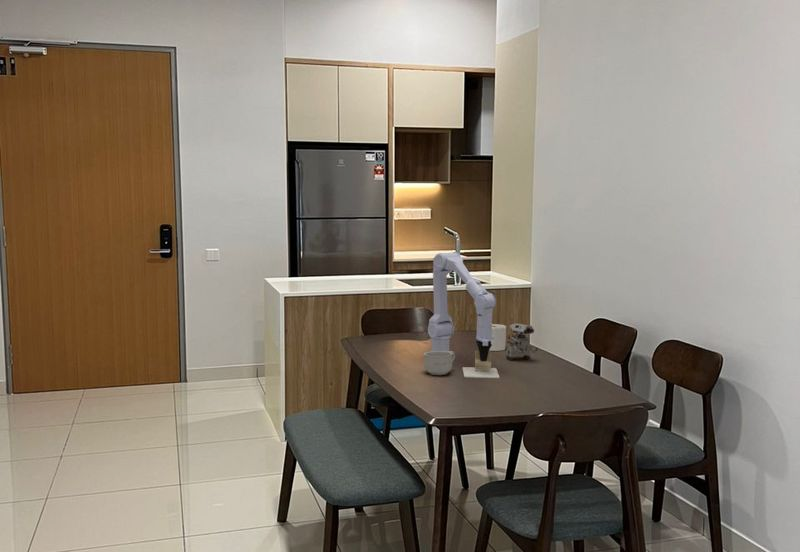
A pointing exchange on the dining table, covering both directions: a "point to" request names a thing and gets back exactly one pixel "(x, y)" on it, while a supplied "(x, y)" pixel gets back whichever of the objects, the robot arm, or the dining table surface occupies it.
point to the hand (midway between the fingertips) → (483, 360)
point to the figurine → (519, 341)
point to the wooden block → (482, 364)
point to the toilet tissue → (498, 337)
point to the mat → (480, 373)
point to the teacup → (438, 362)
